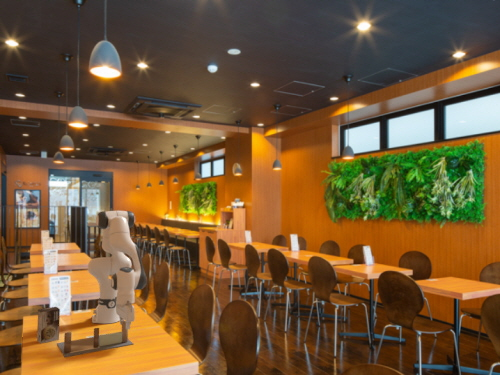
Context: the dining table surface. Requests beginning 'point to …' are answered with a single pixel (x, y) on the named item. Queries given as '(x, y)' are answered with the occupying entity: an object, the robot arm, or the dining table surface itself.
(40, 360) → the dining table surface
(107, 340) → the gate
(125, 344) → the board
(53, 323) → the coffee box
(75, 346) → the fence fixed
